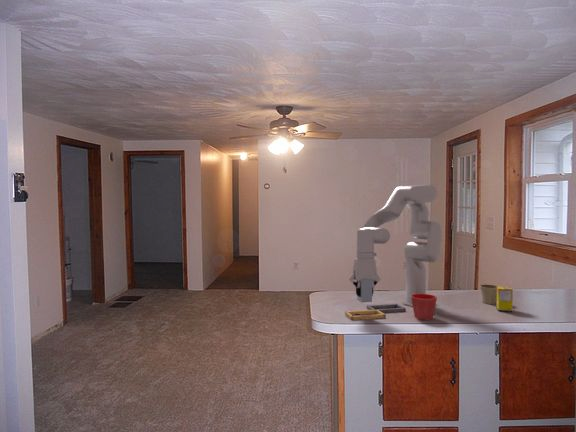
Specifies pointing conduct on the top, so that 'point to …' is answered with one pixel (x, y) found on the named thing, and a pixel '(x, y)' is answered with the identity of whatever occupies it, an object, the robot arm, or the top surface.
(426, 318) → the flower pot
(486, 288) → the flower pot
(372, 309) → the tan grey double frame
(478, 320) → the top surface
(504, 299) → the supplement box
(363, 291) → the plug
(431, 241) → the robot arm
